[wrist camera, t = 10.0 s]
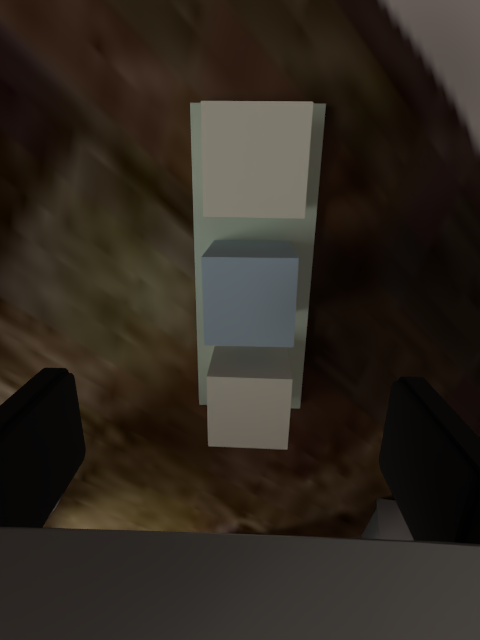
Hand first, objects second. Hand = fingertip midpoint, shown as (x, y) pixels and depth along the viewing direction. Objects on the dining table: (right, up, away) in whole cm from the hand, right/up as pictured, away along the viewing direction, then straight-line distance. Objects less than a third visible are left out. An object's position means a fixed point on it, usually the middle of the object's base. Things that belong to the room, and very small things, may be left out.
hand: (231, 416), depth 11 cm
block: (+1, +6, +14) cm, 16 cm away
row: (+1, +6, +15) cm, 17 cm away
